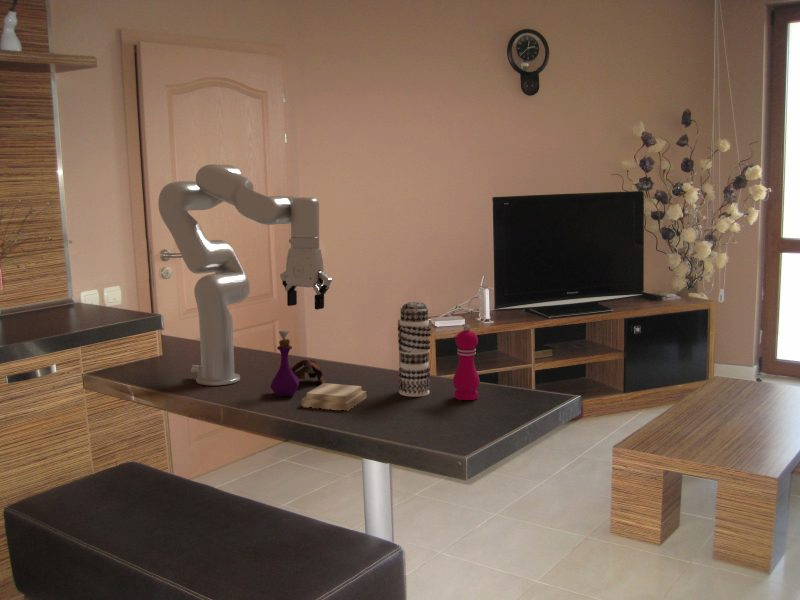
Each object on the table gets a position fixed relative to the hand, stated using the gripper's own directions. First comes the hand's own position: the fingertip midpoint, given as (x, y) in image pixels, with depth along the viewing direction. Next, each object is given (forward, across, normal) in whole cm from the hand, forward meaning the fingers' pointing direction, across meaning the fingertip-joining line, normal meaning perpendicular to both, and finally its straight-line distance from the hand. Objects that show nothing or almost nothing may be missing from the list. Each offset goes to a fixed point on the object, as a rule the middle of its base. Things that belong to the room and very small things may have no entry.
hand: (305, 307), depth 210 cm
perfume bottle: (+25, -4, -4) cm, 25 cm away
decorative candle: (+24, +24, +18) cm, 38 cm away
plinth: (+24, +12, -2) cm, 27 cm away
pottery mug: (+25, -8, +10) cm, 28 cm away
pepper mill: (+24, +39, +21) cm, 50 cm away
